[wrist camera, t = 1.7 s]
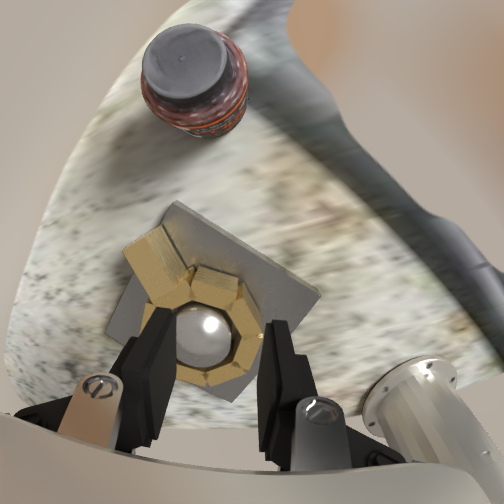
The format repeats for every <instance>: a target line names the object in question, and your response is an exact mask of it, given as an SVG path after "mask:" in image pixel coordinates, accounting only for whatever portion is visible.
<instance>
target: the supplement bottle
mask: <svg viewBox="0 0 504 504" xmlns="http://www.w3.org/2000/svg"><path fill="white" fill-rule="evenodd" d="M141 90H142V95H143V97H144V100H145V102H146V103H147V106H148V107H149V108H150V109H151V111H152V112H153V113H154V114H155V115H157V116H158V117H159V118H161V119H162V120H164V121H165V122H167V123H169V124H171V125H173V126H174V127H176V128H178V129H180V130H182V131H184V132H186V133H188V134H190V135H192V136H196V137H201V138H214V137H218V136H221V135H223V134H226V133H228V132H229V131H231V130H232V129H233V128H235V127H236V126H237V124H238V123H239V122H240V121H241V119H242V117H243V115H244V113H245V111H246V107H247V101H248V100H249V98H248V99H247V97H248V68H247V63H246V60H245V57H244V55H243V53H242V51H241V50H240V48H239V47H238V46H237V45H236V44H235V43H234V42H233V41H232V40H231V39H230V38H229V37H227V36H225V35H224V34H222V33H219V32H217V31H213V30H212V29H210V28H208V27H206V26H202V25H199V24H181V25H176V26H173V27H170V28H168V29H166V30H164V31H163V32H161V33H160V34H158V35H157V36H156V37H155V38H154V39H153V40H152V41H151V43H150V44H149V45H148V47H147V49H146V51H145V53H144V57H143V60H142V73H141Z"/></svg>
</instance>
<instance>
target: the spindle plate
mask: <svg viewBox="0 0 504 504" xmlns="http://www.w3.org/2000/svg"><path fill="white" fill-rule="evenodd" d="M160 225H162V227H163V229H164V231H165V233H166V234H167V236H168V238H169V240H170V242H171V243H172V245H173V247H174V249H175V250H176V252H177V254H178V256H179V257H180V259H181V261H182V263H183V264H184V266H185V268H186V269H188V268H190V267H192V266H193V267H194V269H195V271H197V269H198V267H199V266H201V267H204V268H207V269H211V270H214V271H217V272H220V273H223V274H227V275H230V276H233V277H236V278H238V284H240V283H242V282H243V283H244V284H245V286H246V288H247V290H248V292H249V293H250V295H251V297H252V299H253V301H254V302H255V304H256V306H257V308H258V310H259V311H260V313H261V319H262V331H263V339H264V332H265V326H266V323H271V322H272V319H274V320H287V322H288V326H289V330H290V335H291V334H292V332H293V331H294V330H295V329H296V327H297V326H298V325H299V324H300V322H301V321H302V320H303V319H304V317H305V316H306V315H307V314H308V312H309V311H310V310H311V308H312V307H313V306H314V305H315V303H316V302H317V301H318V299H319V298H320V297H321V295H320V293H319V291H318V289H317V288H315V287H314V286H312V285H310V284H309V283H307V282H306V281H304V280H302V279H301V278H299V277H298V276H296V275H295V274H293V273H291V272H290V271H288V270H287V269H285V268H284V267H282V266H280V265H279V264H277V263H276V262H274V261H273V260H271V259H269V258H268V257H266V256H265V255H263V254H261V253H260V252H258V251H257V250H255V249H254V248H252V247H250V246H249V245H247V244H246V243H244V242H242V241H241V240H239V239H238V238H236V237H235V236H233V235H231V234H230V233H228V232H227V231H225V230H223V229H222V228H220V227H219V226H217V225H215V224H214V223H212V222H211V221H209V220H208V219H206V218H204V217H203V216H201V215H200V214H198V213H196V212H195V211H193V210H192V209H190V208H188V207H187V206H185V205H184V204H182V203H181V202H179V201H177V200H176V201H175V202H173V203H172V205H171V206H170V208H169V210H168V211H167V213H166V215H165V217H164V218H163V220H162V222H161V224H160ZM160 225H159V226H160ZM148 299H149V295H148V293H147V292H146V290H145V289H144V287H143V285H142V284H141V282H140V280H139V279H138V277H137V275H136V274H135V272H134V274H133V276H132V277H131V279H130V281H129V283H128V285H127V287H126V289H125V291H124V293H123V295H122V297H121V299H120V302H119V304H118V306H117V308H116V310H115V312H114V314H113V316H112V318H111V320H110V322H109V325H108V327H107V329H106V331H105V334H107V335H108V336H110V337H112V338H113V339H115V340H116V341H118V342H119V343H121V344H123V345H124V346H125V345H126V343H127V341H128V340H129V338H130V337H131V336H135V337H139V335H140V330H141V325H142V319H143V314H144V309H145V304H146V302H147V300H148ZM172 313H176V315H177V324H176V352H177V359H179V360H180V361H182V362H183V363H185V364H187V365H190V366H194V367H210V366H213V365H216V364H218V363H220V362H221V361H222V360H224V358H225V357H226V356H227V355H228V353H229V350H230V345H231V343H233V342H234V341H235V338H236V335H237V332H238V329H237V328H236V326H235V324H234V323H233V321H232V319H231V318H230V316H229V314H228V313H227V311H226V310H223V309H220V308H217V307H214V306H210V305H207V304H204V303H201V302H197V301H194V300H191V301H189V302H187V303H185V304H183V305H180V306H178V307H176V308H174V309H172ZM263 339H262V342H261V344H260V347H259V349H258V351H257V354H256V356H255V359H254V361H253V363H252V366H251V368H250V370H246V374H244V375H242V376H239V377H236V378H234V379H231V380H228V381H226V382H223V383H220V384H217V385H214V386H212V387H211V386H210V385H209V384H208V382H207V383H206V385H205V387H204V386H200V385H197V384H194V385H196V386H198V387H200V388H202V389H204V390H206V391H208V392H210V393H212V394H214V395H216V396H218V397H220V398H222V399H224V400H226V401H229V402H231V403H232V402H233V401H234V400H235V399H236V398H237V397H238V395H239V394H240V393H241V392H242V391H243V390H244V389H245V388H246V386H247V385H248V384H249V383H250V382H251V381H252V380H253V379H254V377H255V376H256V375H257V374H258V371H259V365H260V358H261V352H262V346H263ZM192 384H193V383H192Z"/></svg>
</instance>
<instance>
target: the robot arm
mask: <svg viewBox="0 0 504 504" xmlns="http://www.w3.org/2000/svg"><path fill="white" fill-rule="evenodd" d="M176 324H177V315H176V313H172V310H171V308H163V307H156V308H155V310H154V311H153V313H152V315H151V317H150V318H149V320H148V322H147V323H146V325H145V327H144V329H143V330H142V332H141V334H140V335H139V337H135V336H131V337H130V338H129V340H128V341H127V343H126V345H125V346H124V348H123V350H122V351H121V353H120V355H119V356H118V358H117V360H116V361H115V363H114V365H113V366H112V368H111V370H110V371H109V373H107V372H95V373H91V374H88V375H86V376H85V377H83V378H82V379H81V380H80V381H79V383H78V385H77V387H76V389H75V392H74V394H73V395H72V396H68V397H65V398H61V399H57V400H54V401H50V402H46V403H43V404H39V405H35V406H31V407H27V408H24V409H21V410H20V411H18V412H17V413H16V414H15V415H14V416H11V415H10V414H9V413H1V412H0V504H504V456H503V454H502V453H501V451H500V450H499V449H498V447H497V446H496V444H495V443H494V442H493V440H492V439H491V437H490V436H489V434H488V433H487V432H486V430H485V429H484V428H483V426H482V425H481V423H480V422H479V421H478V419H477V418H476V417H475V415H474V414H473V412H472V411H471V410H470V408H469V407H468V406H467V405H466V403H465V402H464V401H463V399H462V398H461V397H460V395H459V394H458V393H457V391H456V390H455V388H456V385H457V372H456V370H455V368H454V366H453V365H452V364H451V363H450V361H448V360H447V359H446V358H444V357H441V356H438V355H428V356H421V357H418V358H415V359H412V360H410V361H408V362H406V363H403V364H402V365H400V366H398V367H397V368H395V369H394V370H392V371H391V372H390V373H388V374H387V375H386V376H385V377H383V378H382V379H381V380H380V381H379V382H378V383H377V384H376V386H375V387H374V388H373V390H372V391H371V392H370V394H369V395H368V397H367V399H366V401H365V404H364V406H363V412H362V416H363V421H364V424H365V426H366V428H367V429H368V431H369V432H370V433H372V434H373V435H375V436H378V437H384V438H385V439H386V441H387V443H388V445H389V447H387V446H385V445H383V444H381V443H379V442H377V441H375V440H373V439H371V438H369V437H367V436H366V435H364V434H362V433H360V432H358V431H356V430H354V429H352V428H350V427H348V426H347V425H346V423H345V417H344V412H343V410H342V408H341V407H340V406H339V404H338V403H336V402H335V401H333V400H331V399H328V398H325V397H320V396H318V394H317V390H316V386H315V383H314V379H313V376H312V372H311V369H310V365H309V362H308V358H307V356H306V355H299V354H295V352H294V348H293V343H292V339H291V335H290V330H289V326H288V322H287V320H274V319H272V322H271V323H266V326H265V332H264V339H263V346H262V352H261V358H260V365H259V371H258V377H257V407H258V432H259V451H260V452H265V460H266V461H273V462H274V463H275V464H277V465H278V466H279V467H278V471H276V472H275V471H249V470H234V469H220V468H211V467H203V466H195V465H188V464H181V463H175V462H169V461H163V460H157V459H152V458H147V457H142V456H138V455H135V454H136V452H135V449H136V448H138V447H140V446H144V447H149V448H150V446H151V442H152V439H153V440H157V439H158V437H159V433H160V430H161V426H162V423H163V419H164V416H165V412H166V409H167V406H168V402H169V399H170V396H171V392H172V389H173V386H174V382H175V379H176V373H177V352H176Z"/></svg>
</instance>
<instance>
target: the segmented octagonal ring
mask: <svg viewBox="0 0 504 504" xmlns="http://www.w3.org/2000/svg"><path fill="white" fill-rule="evenodd" d="M122 252H123V253H124V255H125V257H126V259H127V260H128V262H129V264H130V265H131V267H132V269H133V270H134V272H135V274H136V275H137V277H138V279H139V280H140V282H141V284H142V285H143V287H144V289H145V290H146V292H147V293H148V295H149V299H148V300H147V302H146V304H145V309H144V314H143V319H142V325H141V330H140V334H141V332H142V330H143V329H144V327H145V325H146V323H147V322H148V320H149V318H150V317H151V315H152V313H153V311H154V310H155V308H156V307H163V308H171V310H172V309H174V308H176V307H178V306H180V305H183V304H185V303H187V302H189V301H191V300H194V301H197V302H201V303H204V304H207V305H210V306H214V307H217V308H220V309H223V310H226V311H227V313H228V314H229V316H230V318H231V319H232V321H233V323H234V324H235V326H236V328H237V329H238V332H237V335H236V338H235V341H234V342H233V343H231V345H230V350H229V353H228V355H227V356H226V357H225V358H224V360H222V361H221V362H220V363H218V364H216V365H213V366H210V367H194V366H190V365H187V364H185V363H183V362H182V361H180V360H179V359H177V373H176V379H180V380H183V381H186V382H190V383H193V384H197V385H200V386H204V387H205V385H206V383H207V382H208V384H209V385H210V386H211V387H212V386H214V385H217V384H220V383H223V382H226V381H228V380H231V379H234V378H236V377H239V376H242V375H244V374H246V370H250V368H251V366H252V363H253V361H254V359H255V356H256V354H257V351H258V349H259V347H260V344H261V342H262V339H263V331H262V319H261V313H260V311H259V310H258V308H257V306H256V304H255V302H254V301H253V299H252V297H251V295H250V293H249V292H248V290H247V288H246V286H245V284H244V283H243V282H242V283H240V284H238V278H236V277H233V276H230V275H227V274H223V273H220V272H217V271H214V270H211V269H207V268H204V267H201V266H199V267H198V269H197V271H195V269H194V267H193V266H192V267H190V268H188V269H186V268H185V266H184V264H183V263H182V261H181V259H180V257H179V256H178V254H177V252H176V250H175V249H174V247H173V245H172V243H171V242H170V240H169V238H168V236H167V234H166V233H165V231H164V229H163V227H162V225H160V226H158V227H157V228H155V229H153V230H151V231H150V232H148V233H146V234H144V235H143V236H141V237H139V238H138V239H137V240H135V241H134V242H133V243H131V244H130V245H129V246H127V247H126V248H125V249H123V250H122Z"/></svg>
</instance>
